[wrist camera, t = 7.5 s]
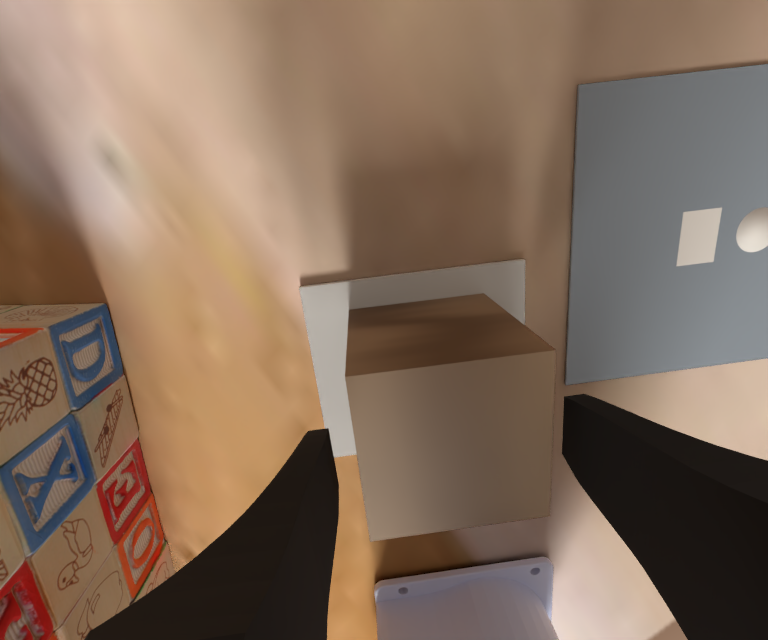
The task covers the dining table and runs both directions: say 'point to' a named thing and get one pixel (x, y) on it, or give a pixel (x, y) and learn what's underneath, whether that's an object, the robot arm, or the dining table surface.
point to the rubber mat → (335, 299)
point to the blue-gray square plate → (669, 224)
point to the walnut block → (449, 415)
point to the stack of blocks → (70, 477)
